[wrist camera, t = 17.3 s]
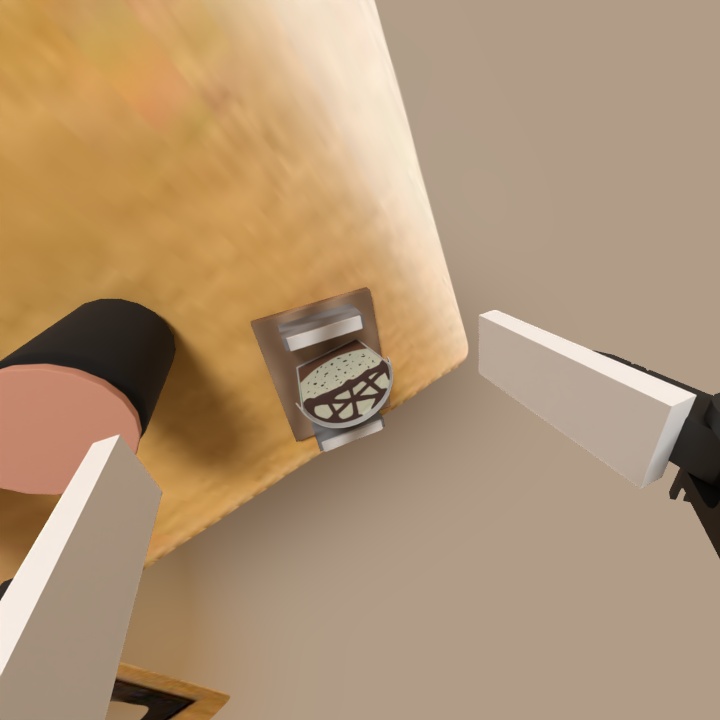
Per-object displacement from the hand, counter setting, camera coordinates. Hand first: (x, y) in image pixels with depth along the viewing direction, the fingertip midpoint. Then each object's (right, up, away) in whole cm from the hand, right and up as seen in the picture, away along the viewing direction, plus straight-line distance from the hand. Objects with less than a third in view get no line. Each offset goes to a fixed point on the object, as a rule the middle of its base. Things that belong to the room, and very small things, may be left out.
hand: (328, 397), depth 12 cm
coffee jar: (-26, +4, +26) cm, 37 cm away
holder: (-4, 0, +36) cm, 36 cm away
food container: (-3, 0, +35) cm, 35 cm away
